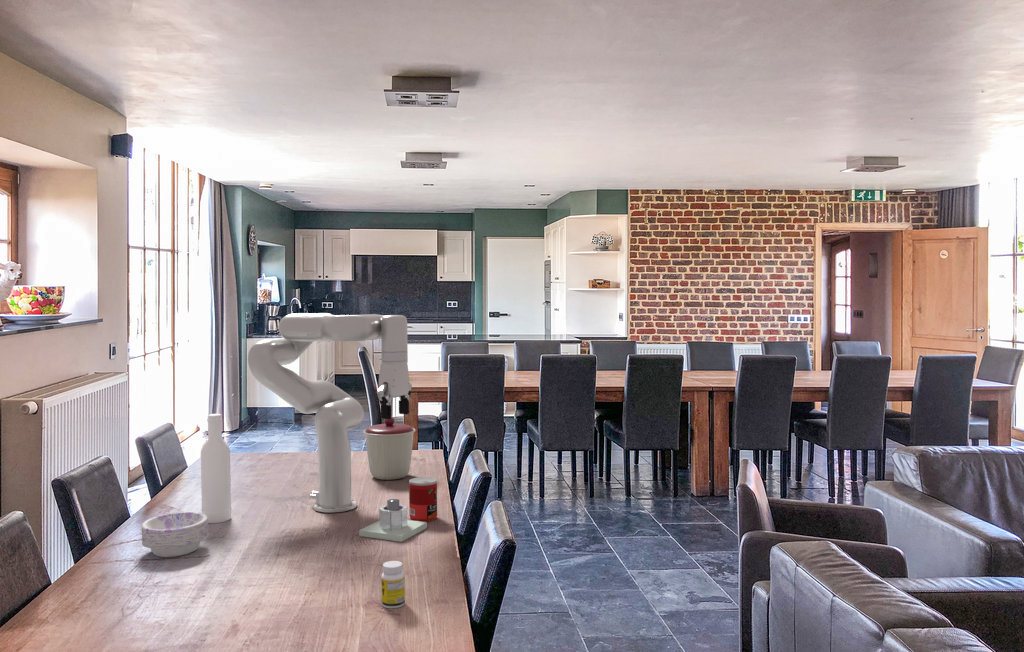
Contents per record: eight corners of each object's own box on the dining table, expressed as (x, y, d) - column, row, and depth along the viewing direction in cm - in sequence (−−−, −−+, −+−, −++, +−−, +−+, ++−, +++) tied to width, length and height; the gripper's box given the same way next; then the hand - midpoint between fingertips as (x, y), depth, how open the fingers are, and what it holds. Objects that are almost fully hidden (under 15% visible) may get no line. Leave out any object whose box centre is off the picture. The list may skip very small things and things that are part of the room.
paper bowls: (143, 565, 181) (142, 532, 181) (141, 547, 195) (140, 516, 195) (212, 555, 188) (211, 523, 188) (205, 538, 202) (204, 508, 202)
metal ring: (375, 528, 204) (374, 509, 204) (389, 521, 211) (389, 503, 211) (397, 531, 202) (397, 512, 201) (411, 524, 208) (411, 505, 208)
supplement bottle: (382, 600, 160) (382, 560, 159) (405, 599, 160) (405, 559, 160) (380, 609, 155) (380, 568, 155) (404, 608, 155) (403, 567, 155)
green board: (359, 535, 203) (359, 530, 203) (386, 522, 215) (386, 517, 215) (401, 541, 198) (401, 536, 198) (426, 527, 210) (426, 522, 210)
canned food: (432, 523, 214) (432, 483, 214) (405, 521, 216) (405, 482, 215) (440, 515, 222) (440, 477, 221) (414, 513, 223) (414, 476, 223)
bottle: (236, 519, 219) (234, 414, 218) (209, 525, 213) (207, 417, 212) (223, 513, 224) (221, 411, 223) (196, 519, 219) (194, 414, 218)
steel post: (385, 527, 205) (384, 501, 205) (391, 523, 208) (391, 498, 208) (395, 528, 204) (395, 502, 204) (401, 525, 207) (401, 499, 207)
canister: (426, 474, 272) (425, 415, 272) (392, 485, 257) (391, 422, 256) (387, 468, 282) (387, 411, 281) (352, 478, 267) (352, 418, 266)
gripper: (399, 355, 232) (399, 411, 233) (366, 359, 216) (367, 420, 217) (420, 355, 229) (421, 412, 230) (389, 360, 213) (390, 421, 214)
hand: (395, 416), depth 224 cm, fingers open, 9 cm apart
